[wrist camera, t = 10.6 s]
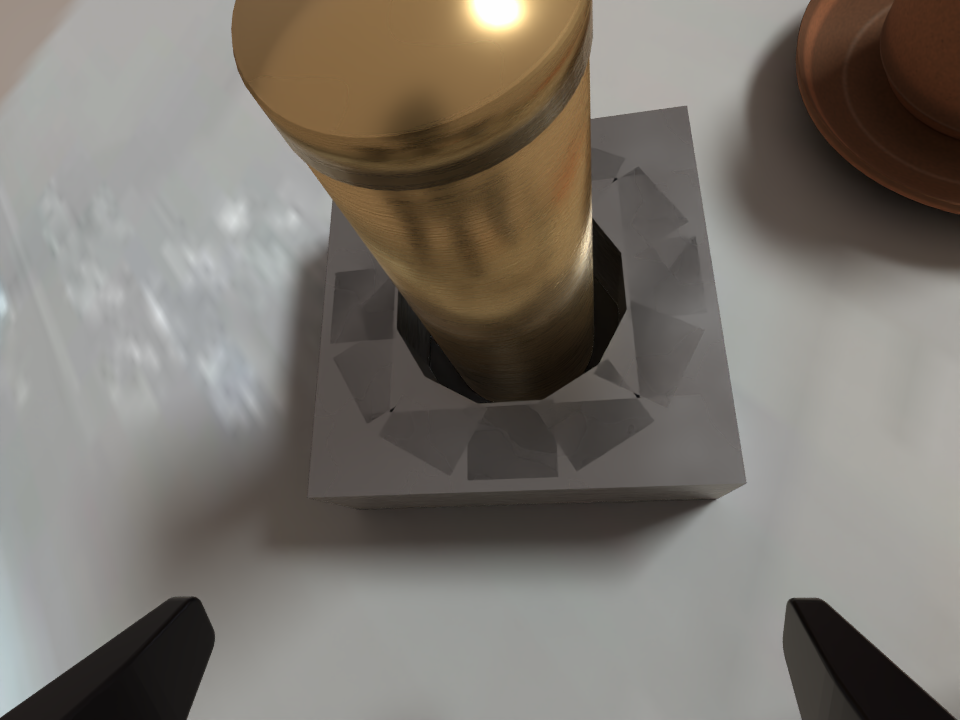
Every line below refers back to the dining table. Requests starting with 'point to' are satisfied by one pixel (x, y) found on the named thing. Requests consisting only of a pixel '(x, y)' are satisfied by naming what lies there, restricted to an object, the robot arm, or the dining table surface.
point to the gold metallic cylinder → (450, 162)
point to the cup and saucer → (887, 90)
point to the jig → (572, 409)
